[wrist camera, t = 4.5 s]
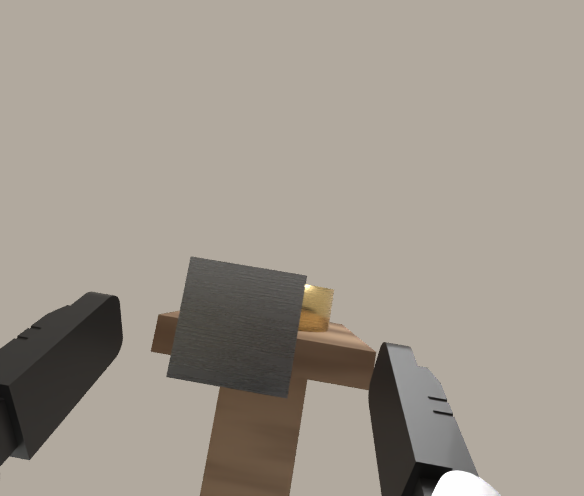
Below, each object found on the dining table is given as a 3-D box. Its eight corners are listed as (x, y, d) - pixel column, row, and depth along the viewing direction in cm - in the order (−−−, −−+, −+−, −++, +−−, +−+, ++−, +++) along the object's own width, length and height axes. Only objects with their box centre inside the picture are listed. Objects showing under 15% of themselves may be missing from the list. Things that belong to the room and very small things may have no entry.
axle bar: (390, 417, 8) (405, 292, 8) (68, 359, 8) (96, 241, 9) (323, 324, 29) (328, 289, 29) (232, 308, 29) (239, 274, 29)
